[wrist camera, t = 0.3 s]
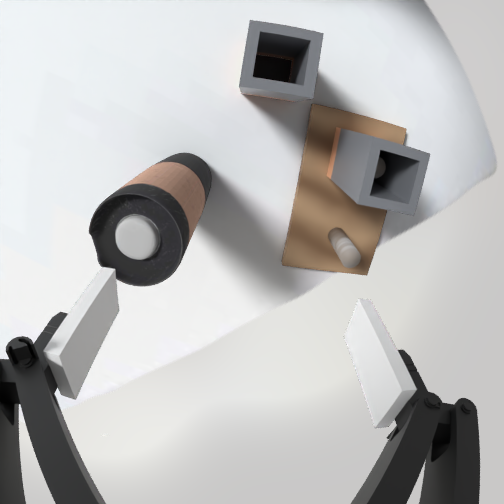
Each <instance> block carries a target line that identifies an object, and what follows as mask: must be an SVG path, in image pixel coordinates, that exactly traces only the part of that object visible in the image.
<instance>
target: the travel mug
mask: <svg viewBox="0 0 504 504" xmlns="http://www.w3.org/2000/svg"><path fill="white" fill-rule="evenodd" d="M210 187H211V173H210V170H209V168H208V166H207V165H206V163H205V162H204V161H203V160H202V159H201V158H199V157H198V156H196V155H194V154H190V153H179V154H175V155H172V156H170V157H168V158H166V159H164V160H162V161H160V162H158V163H156V164H155V165H153V166H151V167H149V168H148V169H146V170H145V171H144V172H142V173H141V174H139V175H138V176H136V177H135V178H134V179H132V180H131V181H129V182H128V183H127V184H125V185H124V186H123V187H121V188H120V189H119V190H117V191H116V192H115V193H113V194H112V195H111V196H109V197H108V198H107V199H105V200H104V201H103V202H102V203H101V204H100V205H99V207H98V208H97V209H96V211H95V213H94V215H93V217H92V219H91V222H90V226H89V233H90V235H91V236H92V239H93V242H94V245H95V248H96V252H97V257H98V262H99V264H100V265H101V267H106V268H112V269H115V272H116V279H117V280H119V281H121V282H123V283H126V284H129V285H133V286H152V285H155V284H158V283H160V282H163V281H164V280H166V279H168V278H169V277H170V276H171V275H172V274H173V273H174V272H175V271H176V269H177V268H178V266H179V265H180V263H181V260H182V258H183V256H184V253H185V251H186V249H187V246H188V244H189V242H190V239H191V237H192V235H193V232H194V230H195V228H196V225H197V223H198V221H199V219H200V216H201V214H202V212H203V209H204V206H205V203H206V200H207V197H208V193H209V190H210Z"/></svg>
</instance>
